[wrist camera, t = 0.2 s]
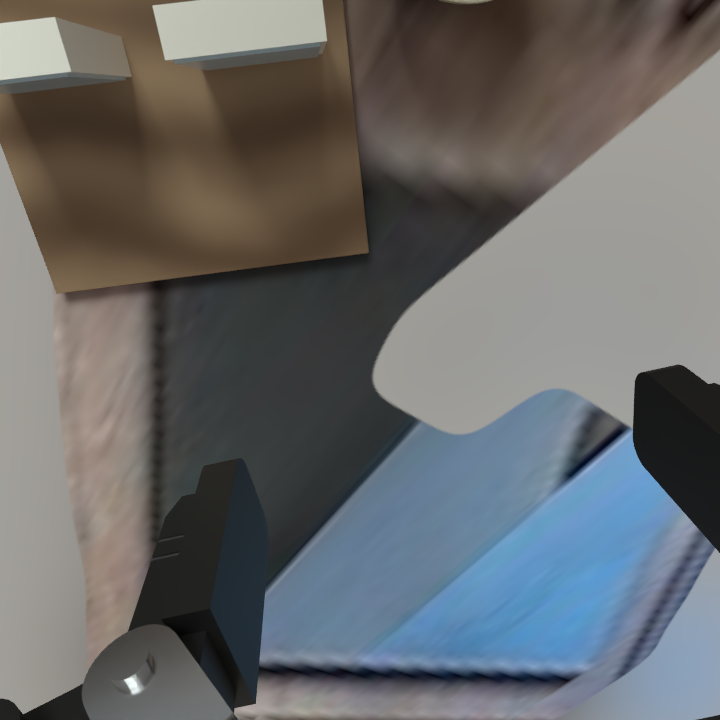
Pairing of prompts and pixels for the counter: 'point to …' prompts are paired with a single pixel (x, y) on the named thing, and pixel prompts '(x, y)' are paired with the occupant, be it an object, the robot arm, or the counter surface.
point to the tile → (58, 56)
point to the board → (185, 158)
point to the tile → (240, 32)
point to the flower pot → (465, 1)
